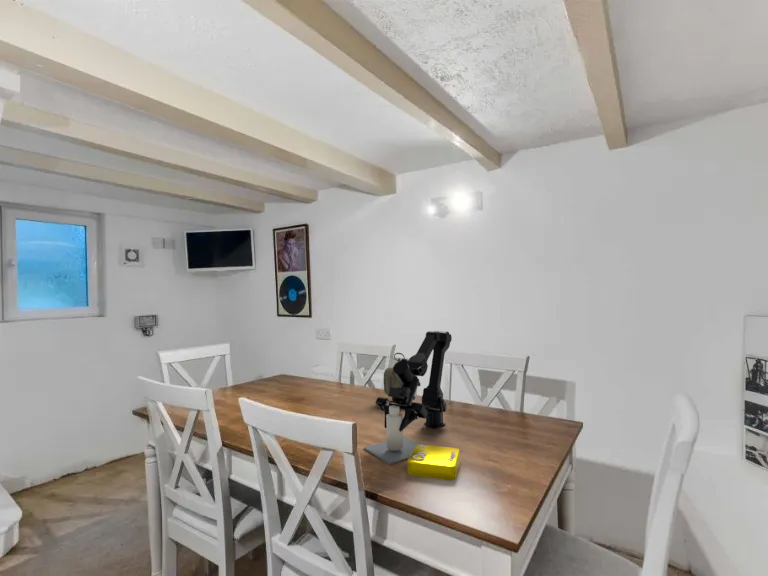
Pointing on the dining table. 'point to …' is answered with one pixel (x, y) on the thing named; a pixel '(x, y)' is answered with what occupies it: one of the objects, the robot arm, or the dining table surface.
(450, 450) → the element tile
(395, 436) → the white bottle
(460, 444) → the dining table surface
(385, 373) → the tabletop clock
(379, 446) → the slate mat
